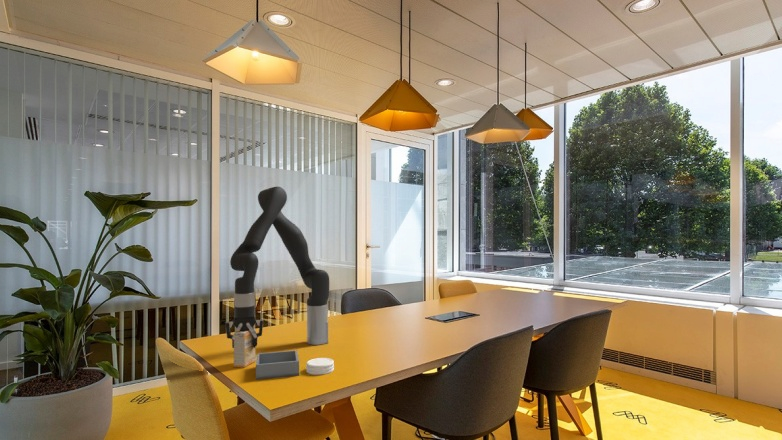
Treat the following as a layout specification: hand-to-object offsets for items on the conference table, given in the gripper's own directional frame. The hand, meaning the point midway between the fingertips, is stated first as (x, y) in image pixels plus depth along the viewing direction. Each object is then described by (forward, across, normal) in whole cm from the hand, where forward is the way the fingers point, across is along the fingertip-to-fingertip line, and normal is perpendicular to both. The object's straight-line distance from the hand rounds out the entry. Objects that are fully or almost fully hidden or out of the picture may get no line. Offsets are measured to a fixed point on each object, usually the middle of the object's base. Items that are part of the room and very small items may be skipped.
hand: (244, 348), depth 167 cm
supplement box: (+6, 0, 0) cm, 6 cm away
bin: (+6, -12, +12) cm, 18 cm away
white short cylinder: (+7, -27, +16) cm, 32 cm away
